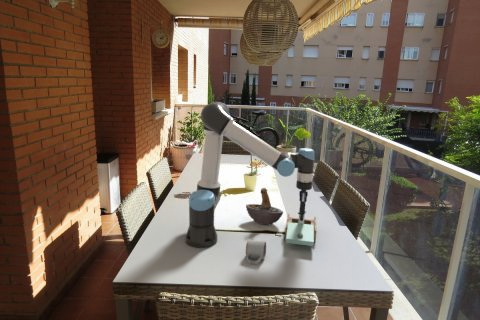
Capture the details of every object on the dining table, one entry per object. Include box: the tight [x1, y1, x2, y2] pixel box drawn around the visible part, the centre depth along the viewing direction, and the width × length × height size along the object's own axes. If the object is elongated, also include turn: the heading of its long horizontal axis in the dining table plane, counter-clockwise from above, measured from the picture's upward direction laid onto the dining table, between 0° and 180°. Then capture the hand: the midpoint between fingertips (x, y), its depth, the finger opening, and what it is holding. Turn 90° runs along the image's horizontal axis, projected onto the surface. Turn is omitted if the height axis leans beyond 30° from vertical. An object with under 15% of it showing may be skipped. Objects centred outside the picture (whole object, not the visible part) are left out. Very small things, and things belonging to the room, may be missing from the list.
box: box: [284, 213, 317, 244], centre depth 176 cm, size 18×15×6 cm
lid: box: [285, 222, 315, 247], centre depth 164 cm, size 17×12×3 cm
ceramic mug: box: [245, 239, 267, 265], centre depth 149 cm, size 11×8×8 cm
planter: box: [245, 187, 284, 225], centre depth 186 cm, size 15×17×20 cm
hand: (300, 225), depth 173 cm, fingers closed
